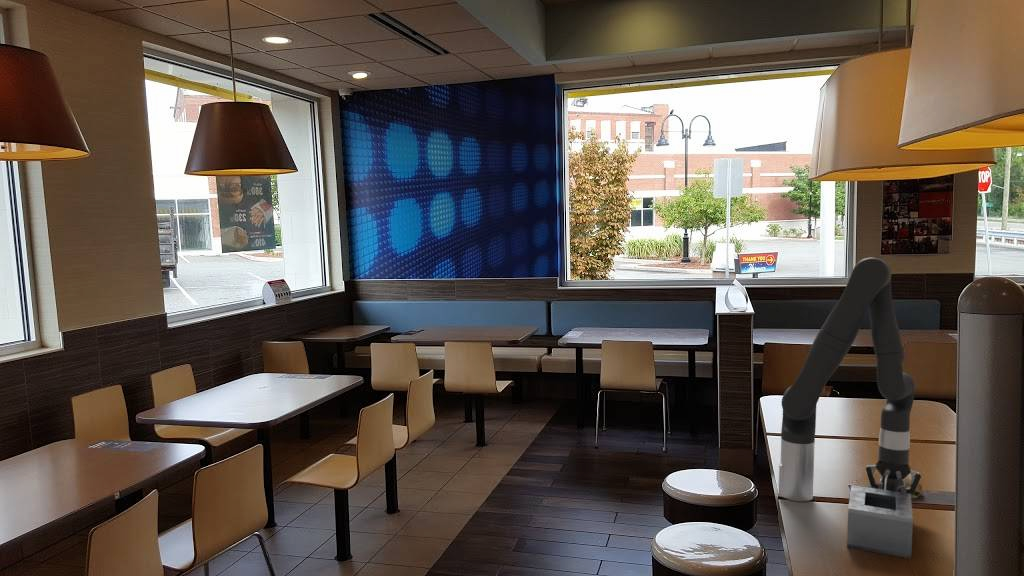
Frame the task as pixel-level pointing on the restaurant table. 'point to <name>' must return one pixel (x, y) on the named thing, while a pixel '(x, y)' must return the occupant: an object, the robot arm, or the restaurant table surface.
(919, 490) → the bread roll
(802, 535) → the restaurant table surface
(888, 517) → the box
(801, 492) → the robot arm
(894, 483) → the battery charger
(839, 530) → the restaurant table surface
